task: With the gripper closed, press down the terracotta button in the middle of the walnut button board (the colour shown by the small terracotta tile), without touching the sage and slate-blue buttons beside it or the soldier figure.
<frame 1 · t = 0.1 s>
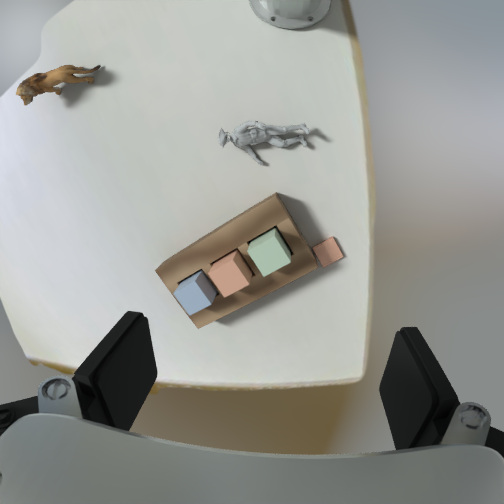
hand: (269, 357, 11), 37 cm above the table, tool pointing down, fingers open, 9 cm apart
lion figurine: (69, 84, 42), on the table
sage button: (270, 250, 44), point 5 cm above the table, slide at 0.0 cm
terracotta button: (231, 271, 45), point 5 cm above the table, slide at 0.0 cm
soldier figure: (265, 137, 43), on the table
button board: (236, 260, 50), on the table
slate button: (196, 290, 47), point 5 cm above the table, slide at 0.0 cm
prompt tile: (327, 251, 48), on the table
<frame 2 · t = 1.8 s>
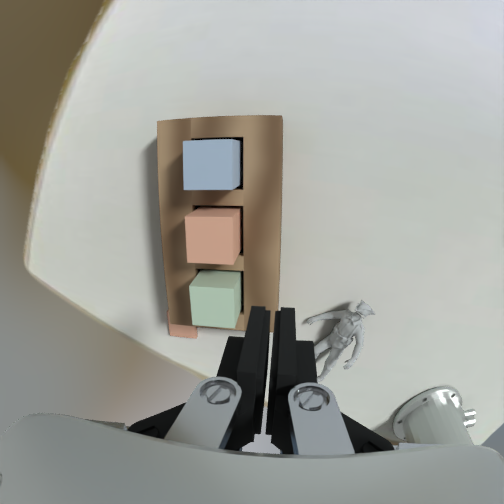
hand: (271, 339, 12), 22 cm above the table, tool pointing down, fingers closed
sage button: (218, 295, 31), point 5 cm above the table, slide at 0.0 cm
terracotta button: (216, 232, 29), point 5 cm above the table, slide at 0.0 cm
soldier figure: (333, 333, 37), on the table
button board: (225, 222, 34), on the table
slate button: (214, 163, 27), point 5 cm above the table, slide at 0.0 cm
prompt tile: (182, 322, 38), on the table
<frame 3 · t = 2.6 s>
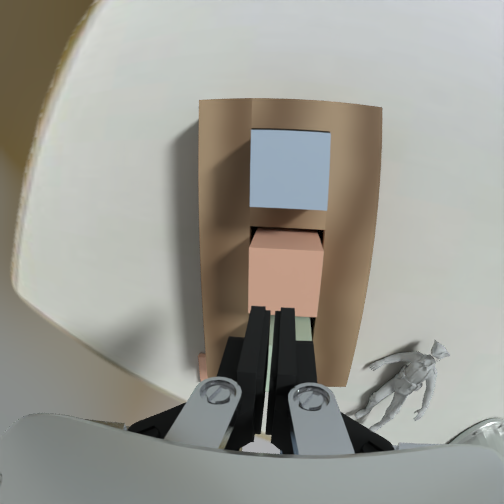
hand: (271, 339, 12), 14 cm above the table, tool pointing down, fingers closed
sage button: (279, 347, 23), point 5 cm above the table, slide at 0.0 cm
terracotta button: (285, 267, 21), point 5 cm above the table, slide at 0.0 cm
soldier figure: (395, 376, 28), on the table
button board: (286, 246, 25), on the table
slate button: (289, 167, 19), point 5 cm above the table, slide at 0.0 cm
prompt tile: (218, 368, 30), on the table
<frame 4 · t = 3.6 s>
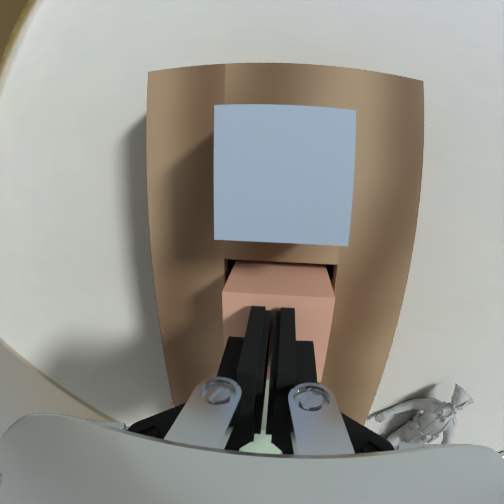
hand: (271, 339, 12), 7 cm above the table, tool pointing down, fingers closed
sage button: (270, 416, 16), point 5 cm above the table, slide at 0.0 cm
terracotta button: (278, 309, 15), point 4 cm above the table, slide at 1.0 cm, touching gripper
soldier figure: (406, 422, 21), on the table
button board: (280, 278, 18), on the table
slate button: (284, 169, 12), point 5 cm above the table, slide at 0.0 cm
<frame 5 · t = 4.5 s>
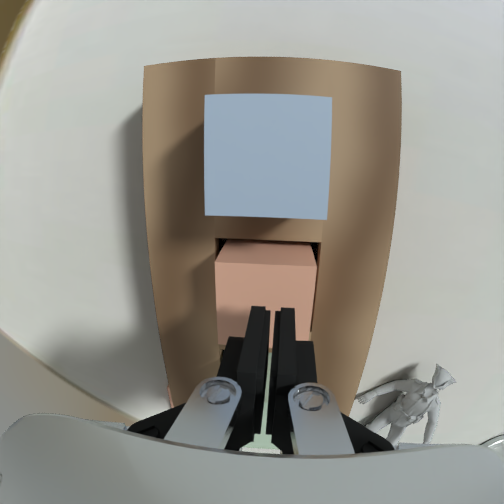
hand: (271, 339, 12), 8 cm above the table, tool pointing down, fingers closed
sage button: (261, 392, 17), point 5 cm above the table, slide at 0.0 cm
terracotta button: (266, 282, 16), point 3 cm above the table, slide at 1.4 cm
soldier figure: (391, 403, 23), on the table
button board: (269, 259, 19), on the table
slate button: (269, 153, 12), point 5 cm above the table, slide at 0.0 cm
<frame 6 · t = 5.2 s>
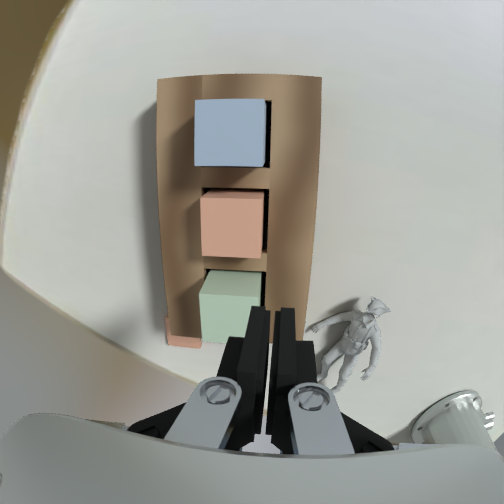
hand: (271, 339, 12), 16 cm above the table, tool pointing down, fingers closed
sage button: (233, 302, 25), point 5 cm above the table, slide at 0.0 cm
terracotta button: (235, 218, 24), point 3 cm above the table, slide at 1.4 cm
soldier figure: (344, 337, 31), on the table
button board: (240, 209, 27), on the table
slate button: (234, 133, 20), point 5 cm above the table, slide at 0.0 cm
prompt tile: (183, 330, 32), on the table
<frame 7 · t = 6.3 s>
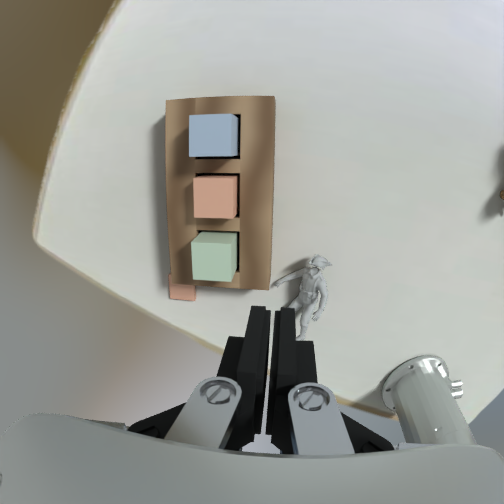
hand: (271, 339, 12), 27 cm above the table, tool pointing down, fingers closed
sage button: (216, 253, 35), point 5 cm above the table, slide at 0.0 cm
terracotta button: (218, 194, 34), point 3 cm above the table, slide at 1.4 cm
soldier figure: (303, 292, 41), on the table
button board: (224, 190, 37), on the table
slate button: (215, 136, 31), point 5 cm above the table, slide at 0.0 cm
prompt tile: (182, 286, 42), on the table
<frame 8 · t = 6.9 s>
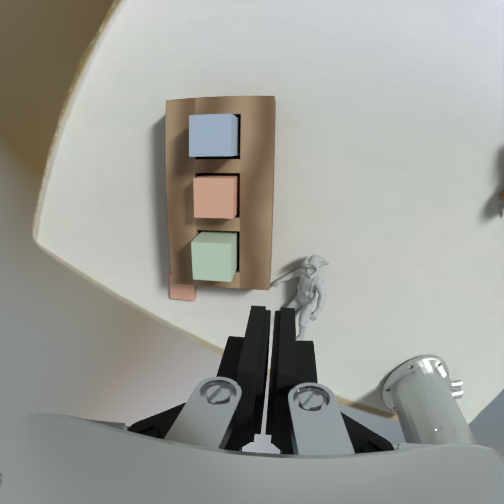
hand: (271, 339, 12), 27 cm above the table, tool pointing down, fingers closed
sage button: (216, 253, 35), point 5 cm above the table, slide at 0.0 cm
terracotta button: (218, 194, 34), point 3 cm above the table, slide at 1.4 cm
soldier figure: (301, 292, 41), on the table
button board: (224, 190, 37), on the table
slate button: (215, 136, 31), point 5 cm above the table, slide at 0.0 cm
prompt tile: (182, 286, 42), on the table
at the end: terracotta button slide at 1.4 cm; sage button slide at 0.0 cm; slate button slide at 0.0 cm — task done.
